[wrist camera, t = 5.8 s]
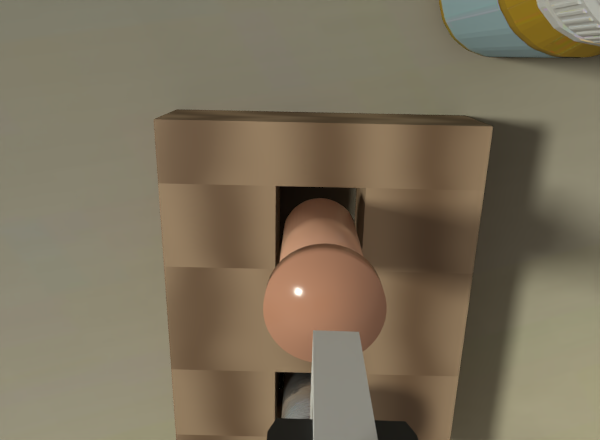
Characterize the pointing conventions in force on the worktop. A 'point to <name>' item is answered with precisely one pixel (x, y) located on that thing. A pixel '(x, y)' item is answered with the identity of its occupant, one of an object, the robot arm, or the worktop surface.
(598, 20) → the bottle
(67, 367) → the worktop surface
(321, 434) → the robot arm
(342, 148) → the block
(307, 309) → the terracotta plug
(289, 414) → the grey plug
